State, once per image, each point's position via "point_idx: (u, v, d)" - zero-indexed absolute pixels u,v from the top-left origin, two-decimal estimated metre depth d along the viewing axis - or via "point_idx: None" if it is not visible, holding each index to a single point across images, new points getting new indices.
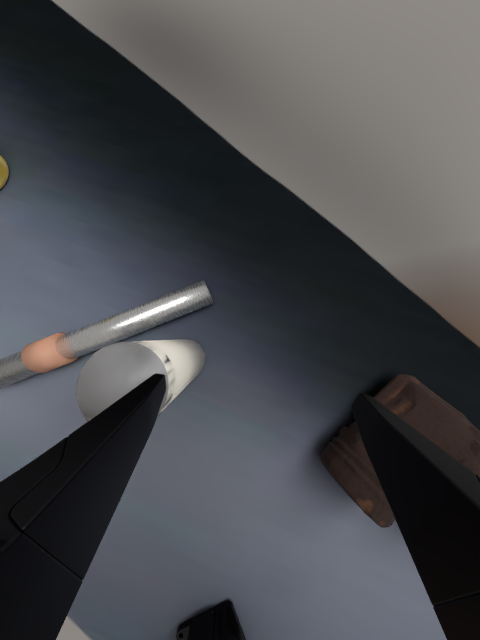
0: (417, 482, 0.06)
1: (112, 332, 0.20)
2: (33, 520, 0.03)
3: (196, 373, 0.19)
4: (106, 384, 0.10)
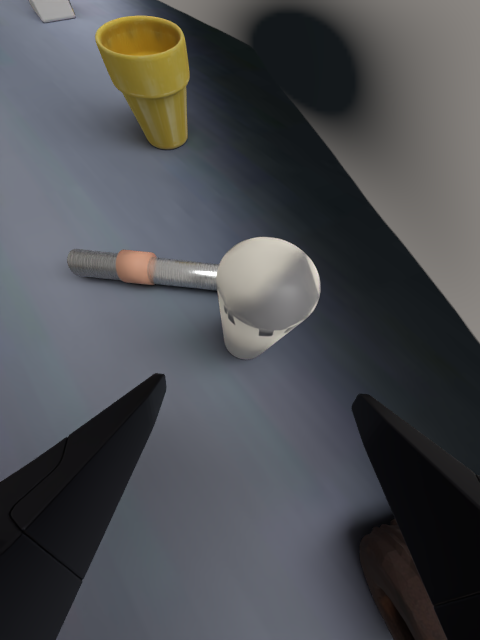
0: (417, 482, 0.06)
1: (201, 275, 0.20)
2: (33, 520, 0.03)
3: None
4: (253, 269, 0.09)
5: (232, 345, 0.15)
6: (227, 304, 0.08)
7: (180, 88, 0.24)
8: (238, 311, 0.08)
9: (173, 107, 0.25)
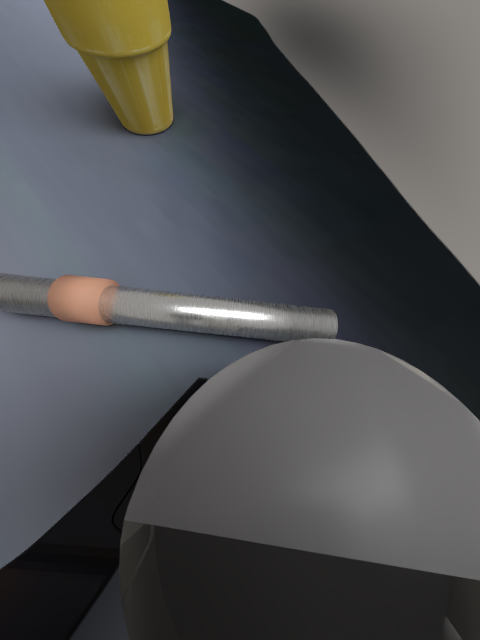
0: None
1: (180, 314, 0.13)
2: None
3: None
4: (280, 503, 0.02)
5: None
6: None
7: (157, 44, 0.17)
8: None
9: (150, 73, 0.18)
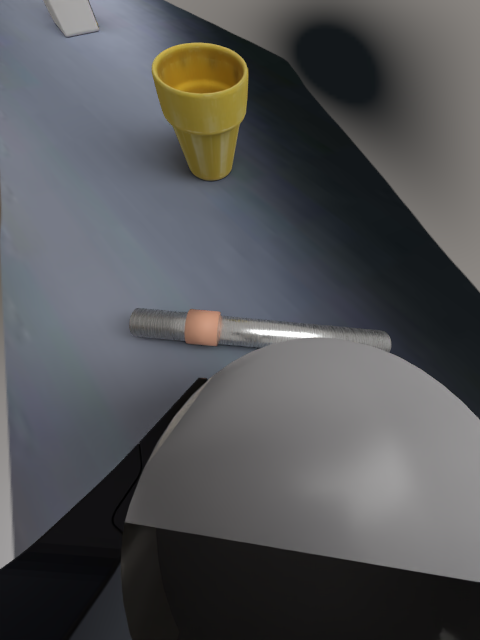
0: None
1: (277, 338, 0.18)
2: None
3: None
4: (281, 501, 0.02)
5: None
6: None
7: (239, 122, 0.22)
8: None
9: (228, 140, 0.23)
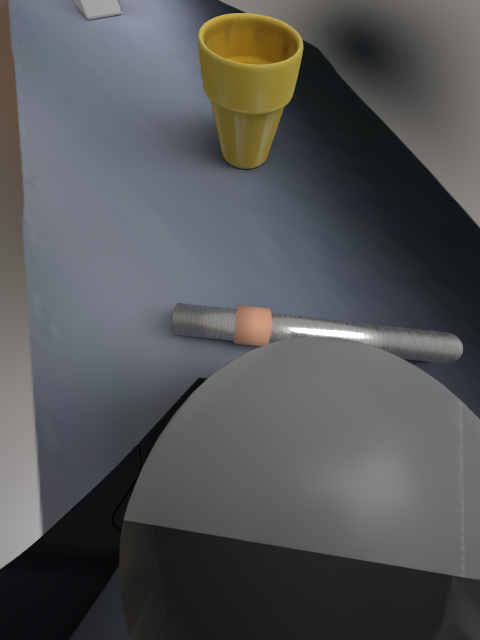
0: None
1: None
2: None
3: None
4: (279, 500, 0.02)
5: None
6: None
7: (287, 102, 0.20)
8: None
9: (272, 123, 0.21)
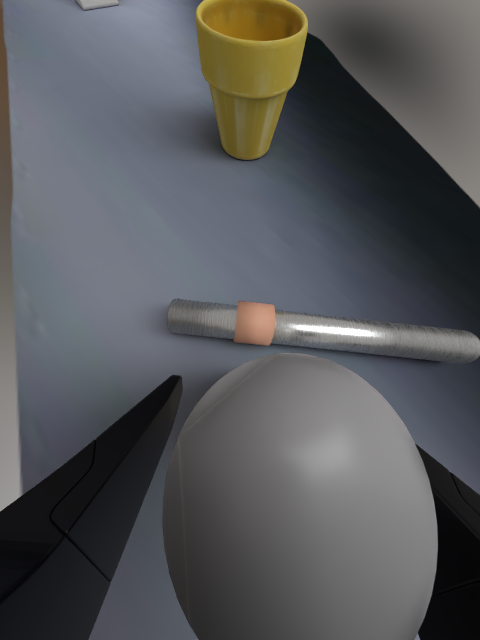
0: None
1: (344, 337, 0.15)
2: (73, 523, 0.03)
3: None
4: (262, 455, 0.03)
5: None
6: (188, 597, 0.03)
7: (290, 86, 0.19)
8: (219, 624, 0.03)
9: (274, 109, 0.20)
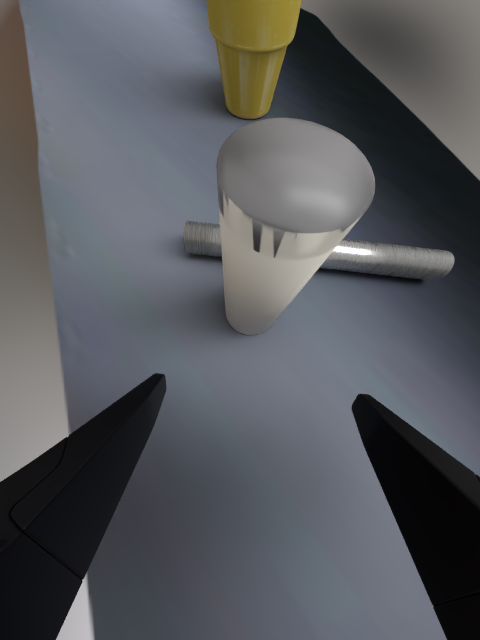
0: (417, 482, 0.06)
1: (336, 250, 0.17)
2: (33, 520, 0.03)
3: (279, 314, 0.13)
4: (272, 154, 0.06)
5: (236, 307, 0.12)
6: (234, 197, 0.05)
7: (289, 41, 0.21)
8: (251, 207, 0.05)
9: (274, 65, 0.22)
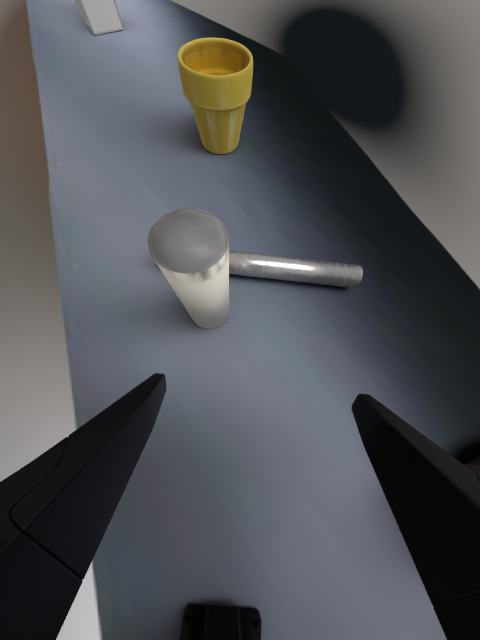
0: (417, 482, 0.06)
1: (273, 265, 0.23)
2: (33, 520, 0.03)
3: (220, 313, 0.19)
4: (178, 231, 0.12)
5: (186, 308, 0.18)
6: (154, 255, 0.11)
7: (245, 102, 0.27)
8: (162, 260, 0.11)
9: (235, 117, 0.28)
